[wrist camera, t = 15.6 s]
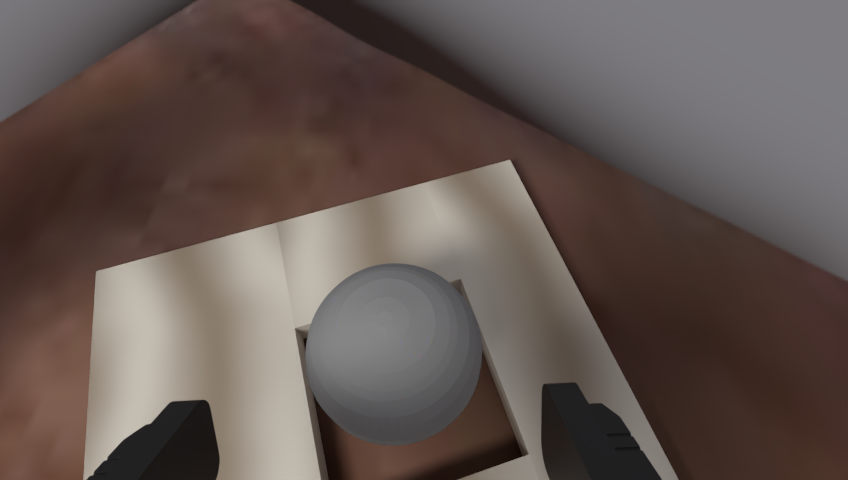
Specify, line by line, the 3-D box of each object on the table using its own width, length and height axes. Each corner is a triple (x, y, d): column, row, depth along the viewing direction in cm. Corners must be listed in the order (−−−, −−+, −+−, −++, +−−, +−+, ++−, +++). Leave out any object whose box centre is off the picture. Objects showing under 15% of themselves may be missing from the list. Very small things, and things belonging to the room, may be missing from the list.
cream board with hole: (97, 751, 15) (65, 773, 14) (114, 284, 24) (96, 271, 23) (683, 523, 18) (702, 524, 17) (506, 176, 27) (509, 159, 26)
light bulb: (457, 482, 19) (463, 457, 10) (333, 446, 20) (245, 396, 11) (483, 355, 22) (505, 251, 13) (372, 328, 23) (324, 214, 14)
